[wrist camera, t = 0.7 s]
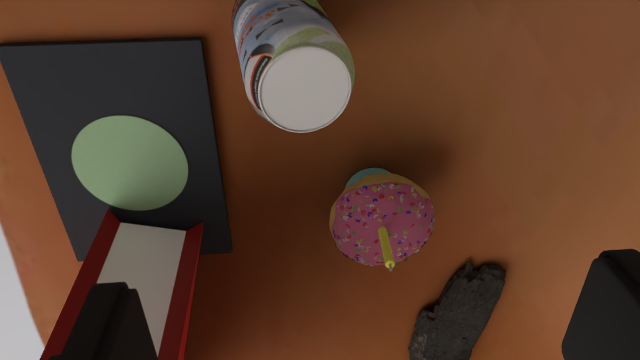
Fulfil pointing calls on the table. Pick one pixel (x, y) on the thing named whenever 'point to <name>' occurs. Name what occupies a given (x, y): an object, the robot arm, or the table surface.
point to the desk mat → (123, 134)
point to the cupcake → (381, 218)
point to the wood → (458, 315)
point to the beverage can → (292, 62)
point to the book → (139, 280)
